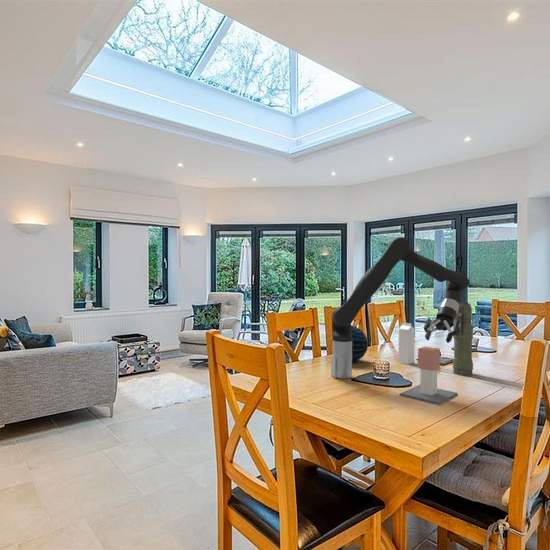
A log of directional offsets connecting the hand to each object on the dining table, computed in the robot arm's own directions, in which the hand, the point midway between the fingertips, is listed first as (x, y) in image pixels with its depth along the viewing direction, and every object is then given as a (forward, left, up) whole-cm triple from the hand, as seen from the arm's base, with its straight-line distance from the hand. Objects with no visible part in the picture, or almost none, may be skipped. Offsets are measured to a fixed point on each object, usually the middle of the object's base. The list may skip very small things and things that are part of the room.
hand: (437, 340), depth 165 cm
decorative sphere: (-17, +58, -21) cm, 64 cm away
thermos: (+29, +24, -21) cm, 44 cm away
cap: (-7, -5, -10) cm, 13 cm away
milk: (+13, +50, -21) cm, 56 cm away
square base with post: (-7, -5, -21) cm, 23 cm away
